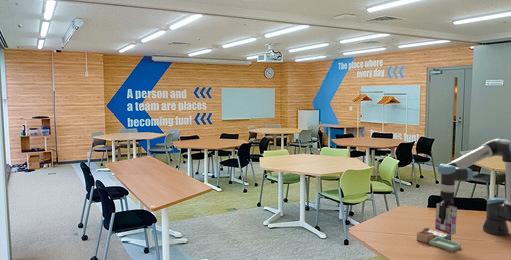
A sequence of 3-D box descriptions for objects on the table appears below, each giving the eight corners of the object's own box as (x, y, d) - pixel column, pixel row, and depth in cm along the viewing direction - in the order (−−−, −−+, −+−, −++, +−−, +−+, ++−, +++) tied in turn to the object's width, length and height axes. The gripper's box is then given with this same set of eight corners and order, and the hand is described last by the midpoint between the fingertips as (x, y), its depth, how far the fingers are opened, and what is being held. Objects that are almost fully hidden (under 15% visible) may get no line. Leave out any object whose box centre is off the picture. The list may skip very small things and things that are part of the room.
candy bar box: (456, 233, 235) (457, 207, 233) (450, 235, 233) (451, 208, 231) (440, 227, 245) (441, 202, 244) (434, 229, 243) (435, 203, 242)
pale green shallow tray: (437, 240, 249) (437, 236, 249) (460, 247, 237) (460, 243, 237) (428, 244, 243) (429, 240, 242) (452, 251, 231) (452, 247, 231)
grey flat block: (430, 231, 260) (430, 229, 260) (447, 236, 250) (447, 235, 250) (425, 233, 256) (425, 231, 256) (443, 238, 247) (443, 237, 247)
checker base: (427, 233, 262) (427, 226, 261) (451, 240, 249) (451, 233, 249) (422, 235, 258) (422, 228, 257) (446, 242, 245) (446, 235, 245)
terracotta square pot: (422, 237, 254) (422, 230, 253) (433, 241, 248) (433, 233, 248) (416, 240, 249) (417, 232, 249) (427, 243, 244) (427, 235, 243)
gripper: (448, 187, 245) (446, 223, 248) (433, 191, 234) (431, 229, 236) (461, 190, 239) (458, 226, 242) (445, 194, 228) (443, 233, 230)
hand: (445, 228), depth 239 cm, fingers closed on candy bar box, 6 cm apart
